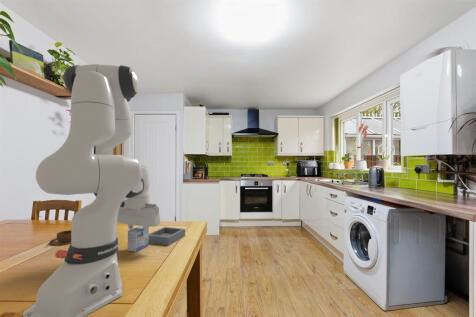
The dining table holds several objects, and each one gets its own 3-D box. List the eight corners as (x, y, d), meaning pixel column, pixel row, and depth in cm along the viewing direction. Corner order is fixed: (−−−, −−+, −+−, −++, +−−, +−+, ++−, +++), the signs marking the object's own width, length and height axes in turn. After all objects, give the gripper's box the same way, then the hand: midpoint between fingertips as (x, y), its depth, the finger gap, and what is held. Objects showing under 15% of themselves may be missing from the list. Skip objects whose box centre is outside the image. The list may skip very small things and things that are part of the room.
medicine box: (135, 252, 97) (136, 231, 97) (127, 250, 99) (127, 230, 99) (148, 245, 105) (149, 226, 105) (140, 244, 106) (140, 225, 106)
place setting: (85, 235, 121) (85, 224, 121) (95, 246, 106) (95, 233, 106) (41, 243, 109) (41, 231, 109) (44, 257, 94) (45, 242, 94)
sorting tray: (185, 235, 118) (185, 228, 118) (168, 245, 105) (168, 237, 105) (164, 233, 122) (164, 226, 122) (146, 242, 109) (146, 234, 109)
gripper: (163, 202, 101) (163, 235, 101) (125, 200, 108) (125, 230, 108) (153, 205, 95) (153, 239, 95) (114, 202, 102) (114, 234, 102)
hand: (138, 235), depth 102 cm, fingers closed on medicine box, 4 cm apart
